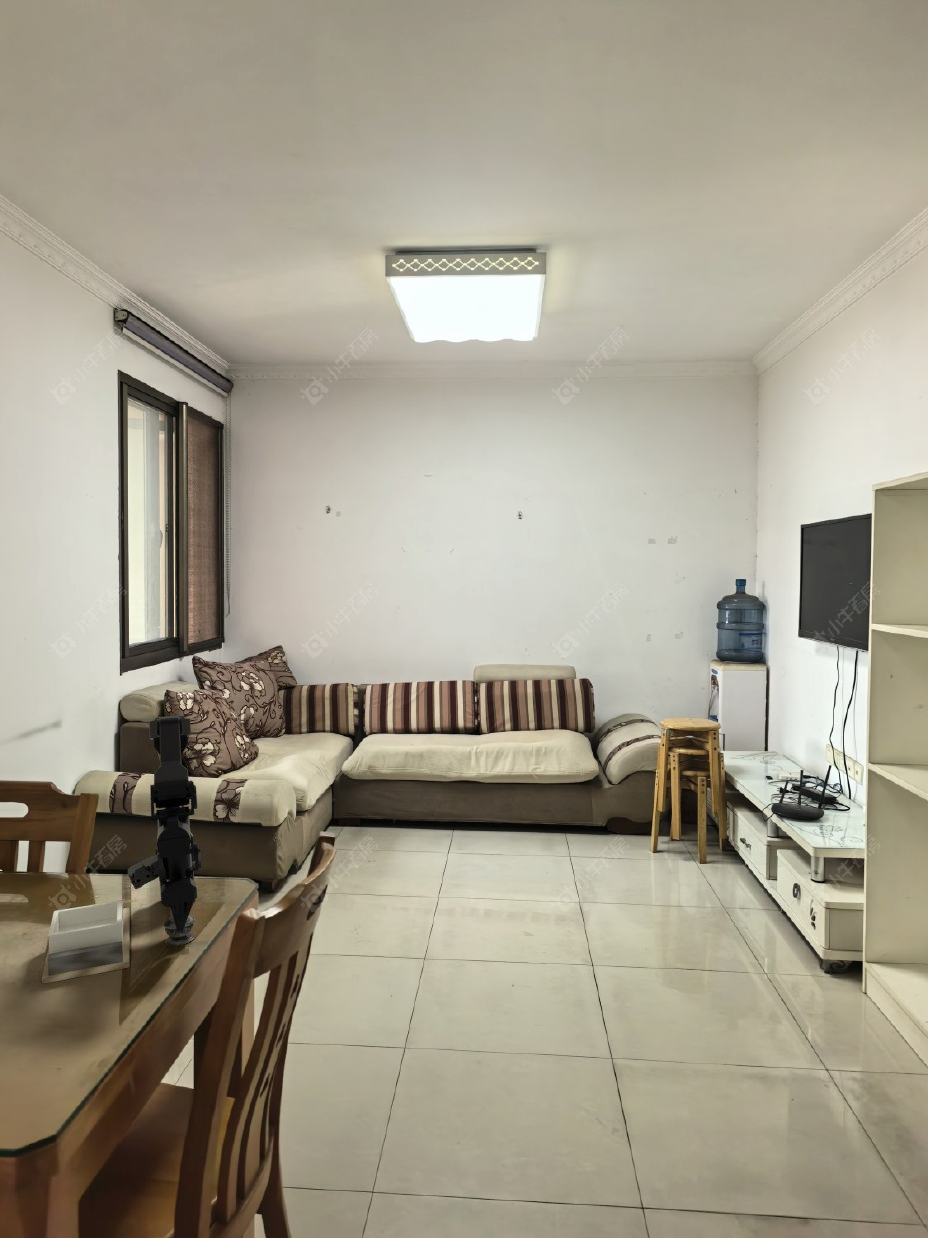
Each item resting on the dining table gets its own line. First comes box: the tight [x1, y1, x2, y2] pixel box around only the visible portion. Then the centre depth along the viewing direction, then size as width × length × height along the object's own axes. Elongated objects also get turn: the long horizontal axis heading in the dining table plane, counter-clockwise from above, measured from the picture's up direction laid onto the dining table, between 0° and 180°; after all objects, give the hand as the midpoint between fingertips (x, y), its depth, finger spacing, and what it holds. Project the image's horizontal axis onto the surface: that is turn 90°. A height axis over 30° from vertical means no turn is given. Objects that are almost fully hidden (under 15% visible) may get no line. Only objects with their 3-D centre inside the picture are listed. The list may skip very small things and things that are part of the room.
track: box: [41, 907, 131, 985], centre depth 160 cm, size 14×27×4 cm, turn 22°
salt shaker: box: [162, 907, 196, 947], centre depth 160 cm, size 6×6×12 cm
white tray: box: [47, 900, 123, 954], centre depth 156 cm, size 12×12×5 cm
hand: (178, 922), depth 160 cm, fingers closed on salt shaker, 8 cm apart
